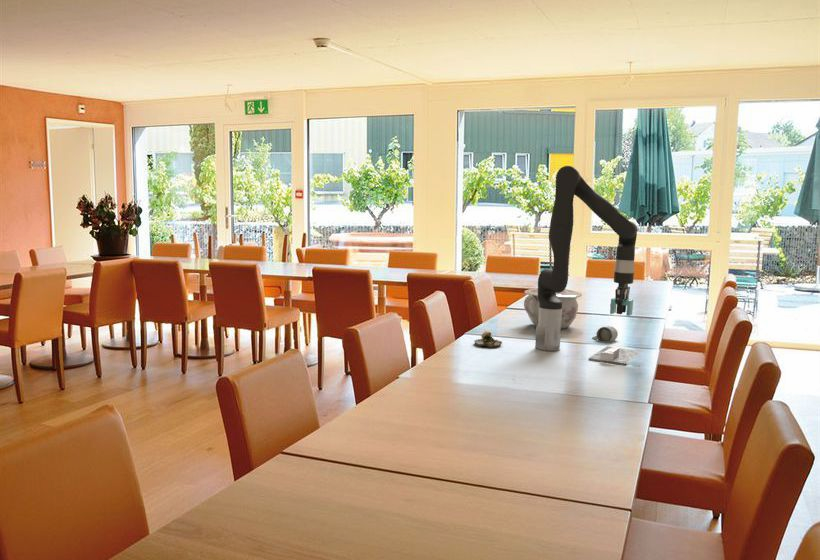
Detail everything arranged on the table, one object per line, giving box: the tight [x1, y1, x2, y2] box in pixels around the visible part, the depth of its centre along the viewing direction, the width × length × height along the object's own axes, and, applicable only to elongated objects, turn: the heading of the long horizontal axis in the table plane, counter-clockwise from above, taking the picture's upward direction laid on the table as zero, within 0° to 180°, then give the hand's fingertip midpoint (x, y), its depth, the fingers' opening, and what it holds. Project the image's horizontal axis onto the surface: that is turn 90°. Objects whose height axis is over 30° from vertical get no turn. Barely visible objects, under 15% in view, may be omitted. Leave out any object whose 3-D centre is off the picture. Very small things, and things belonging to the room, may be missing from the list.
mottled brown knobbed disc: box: [473, 330, 503, 348], centre depth 293 cm, size 12×12×8 cm
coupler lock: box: [609, 297, 634, 317], centre depth 280 cm, size 5×8×6 cm, turn 59°
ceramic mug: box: [592, 325, 618, 343], centre depth 306 cm, size 10×8×7 cm
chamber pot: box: [523, 287, 583, 330], centre depth 337 cm, size 28×28×21 cm
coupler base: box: [588, 346, 642, 367], centre depth 278 cm, size 26×14×4 cm, turn 149°
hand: (621, 312), depth 280 cm, fingers closed on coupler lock, 5 cm apart
